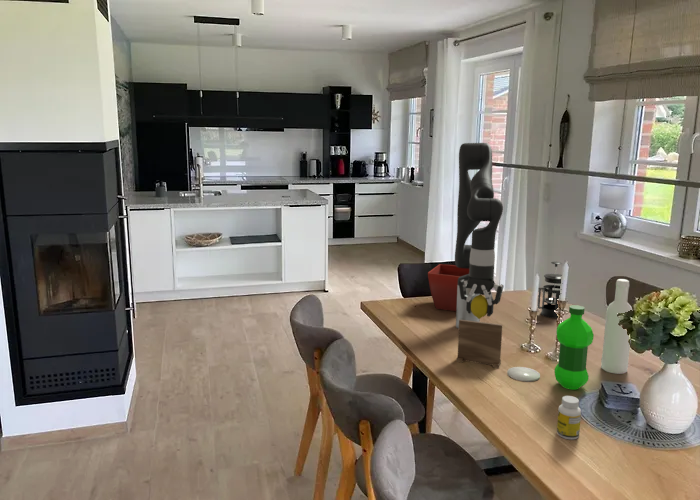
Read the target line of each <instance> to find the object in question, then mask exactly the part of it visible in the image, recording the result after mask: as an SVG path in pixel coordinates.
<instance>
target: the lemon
mask: <svg viewBox="0 0 700 500" xmlns="http://www.w3.org/2000/svg"><path fill="white" fill-rule="evenodd" d="M487 308H488V302H487V299H486V298H485V295H481V294H479V295H478V296H476V297H474V298H473V300H472V302H471V312H472V313H473V315H474V316H476V317H477V318H478V319H480V320H481V318H483V317H485V316H487Z"/></svg>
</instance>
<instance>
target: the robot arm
mask: <svg viewBox="0 0 700 500" xmlns="http://www.w3.org/2000/svg"><path fill="white" fill-rule="evenodd" d="M492 149H493V148H492V146H491V144H490V143H487V142H464V143H462V144H460V146H459V152H458V178H459V179H458V182H459V183H458V200H457V211H456V212H457V223H456V224H457V225H456V226H457V228H456V229H457V230H456V240H455V241H456V242H455V250H454V265H456V266H457V267H458V268H466V269H469V274H467V275H464V276H461V277H459V278H458V285H457V309H456V311H455V313H456V314H455V327H456V328H457V330H459V320H460V319H461V320H469V321H477V322H481V318H480V319H478V318H477V317H476V316H474V315H473V313H472V312H471V302H472V300H473V298H474V297H476V296H478V295H479V294H481V295H482V296H484V297H485V298H486V299H487V302H488V308H487V314H486V317H491V315H493V313H494V305H497V304H499V303H500V302H501V298H502V294H503V292H504V291H503V289H504V285H503V284H498V283H496V282H495V280H494V278H495V261H496V253H495V251H496V250H495V246H496V244H495V243H496V234H497V230H498V226H499V223H500V221H501V218H502V216H503V215H502V214H503V212H504V206H503V202H502V201H501V199H499V198H495V193H494V192H495V190H494V185H493V150H492ZM469 170H470V171H471V170H473V171H474V170H475V171H477V170H478V171H477V172H476V173H475V174H474V175H473V176H472V178H471V177H470V174H469ZM481 222H489V223H488V224H487V225H486V226H484V227H478V226H479V224H481ZM477 227H478V228H477ZM470 235H471V244H466V243H467V242H466V241H467V240H468V238H469V236H470ZM493 288H494V290H495V297H494V298H493V293H492V290H493Z"/></svg>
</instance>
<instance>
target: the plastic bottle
mask: <svg viewBox="0 0 700 500" xmlns="http://www.w3.org/2000/svg"><path fill="white" fill-rule="evenodd" d="M568 308H569V309H568V313H569V314H570V317H568V318H566V319H565V320H563V321H562V322H560V323H559V324H558V325H557V327H556V338H557V341H558V342H559V349H558V350H559V351H558V363H557V364H556V366H555V367H554V377H555V380H556V381H557V383H558V384H559V385H560V386H561V387H563V388H564V389H566V390H572V391H573V390H574V391H575V390H578V389H580V388H581V387H583V386H585V385H586V384H587V383H588V382H589V373H588V370H587V361H588V360H587V359H588V350H589V346H590V345H592V343H593V341H594V332H593V328H592V327H591V326H590V325H589V324H588V322H586V321H585V320H584V319H583V315H584V314H585V311H586V310H585V306H582V305H577V304H572V305H569V306H568Z"/></svg>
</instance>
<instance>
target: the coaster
mask: <svg viewBox="0 0 700 500" xmlns="http://www.w3.org/2000/svg"><path fill="white" fill-rule="evenodd" d="M506 374H507V376H508V377H509V378H511V379H513V380H515V381H520V382H536V381H538V380H540V378H541V374H540V372H538V370H536V369H533V368H530V367H525V366H514V367H510V368H508V369H507V372H506Z"/></svg>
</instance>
